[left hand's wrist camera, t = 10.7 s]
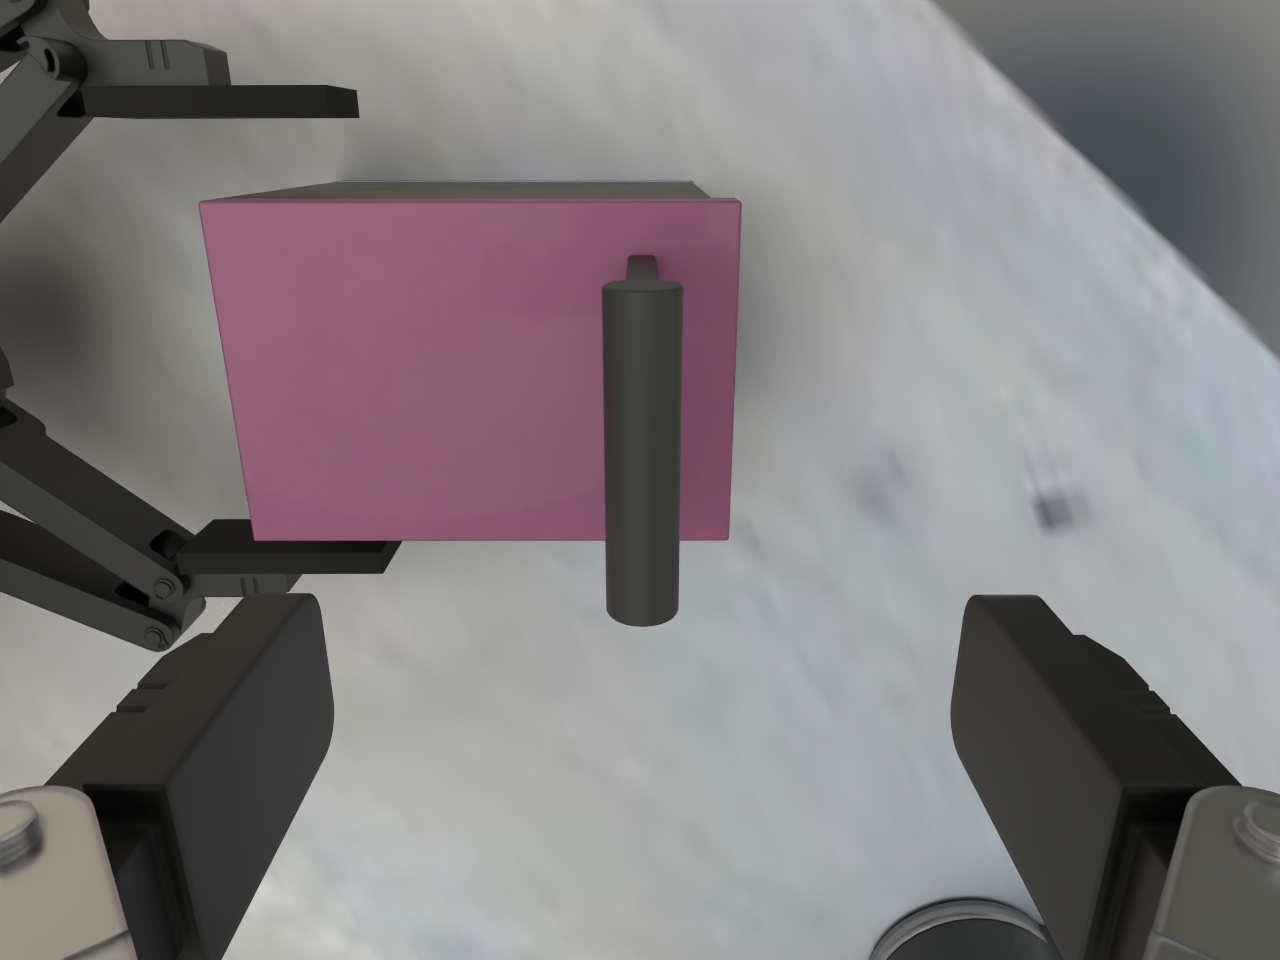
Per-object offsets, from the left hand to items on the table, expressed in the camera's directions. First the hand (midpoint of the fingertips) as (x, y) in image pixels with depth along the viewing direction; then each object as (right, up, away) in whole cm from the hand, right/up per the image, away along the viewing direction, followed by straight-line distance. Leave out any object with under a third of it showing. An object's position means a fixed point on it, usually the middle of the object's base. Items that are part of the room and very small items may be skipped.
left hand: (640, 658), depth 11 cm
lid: (-4, +5, +14) cm, 15 cm away
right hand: (-8, +6, +16) cm, 19 cm away
